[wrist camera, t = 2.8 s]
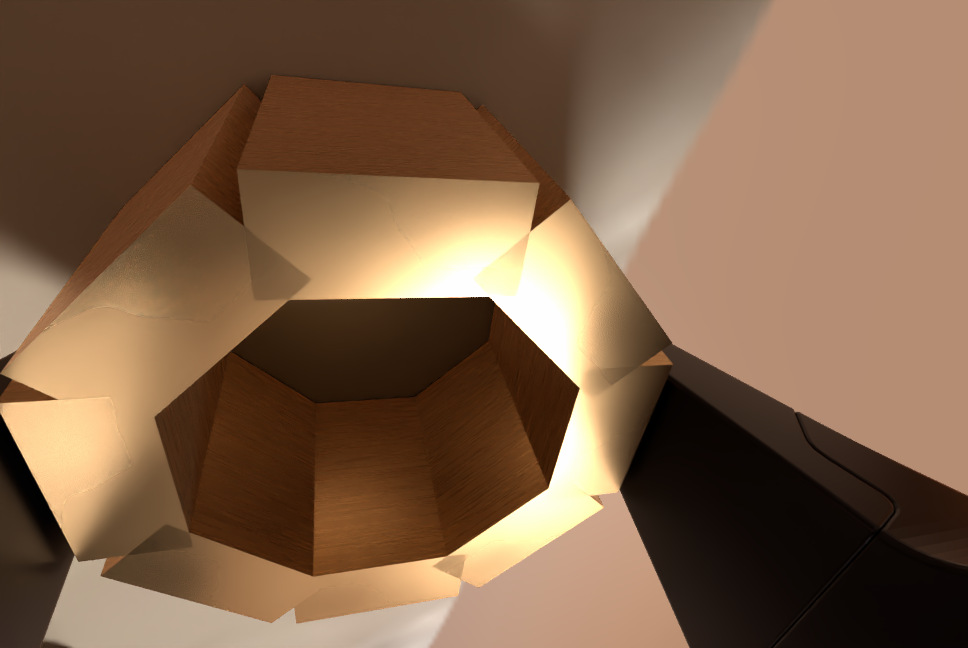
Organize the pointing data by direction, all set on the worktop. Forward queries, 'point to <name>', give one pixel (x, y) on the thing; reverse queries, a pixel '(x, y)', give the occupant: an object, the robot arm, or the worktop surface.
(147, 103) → the worktop surface
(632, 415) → the ring
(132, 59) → the worktop surface
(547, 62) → the worktop surface
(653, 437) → the robot arm
